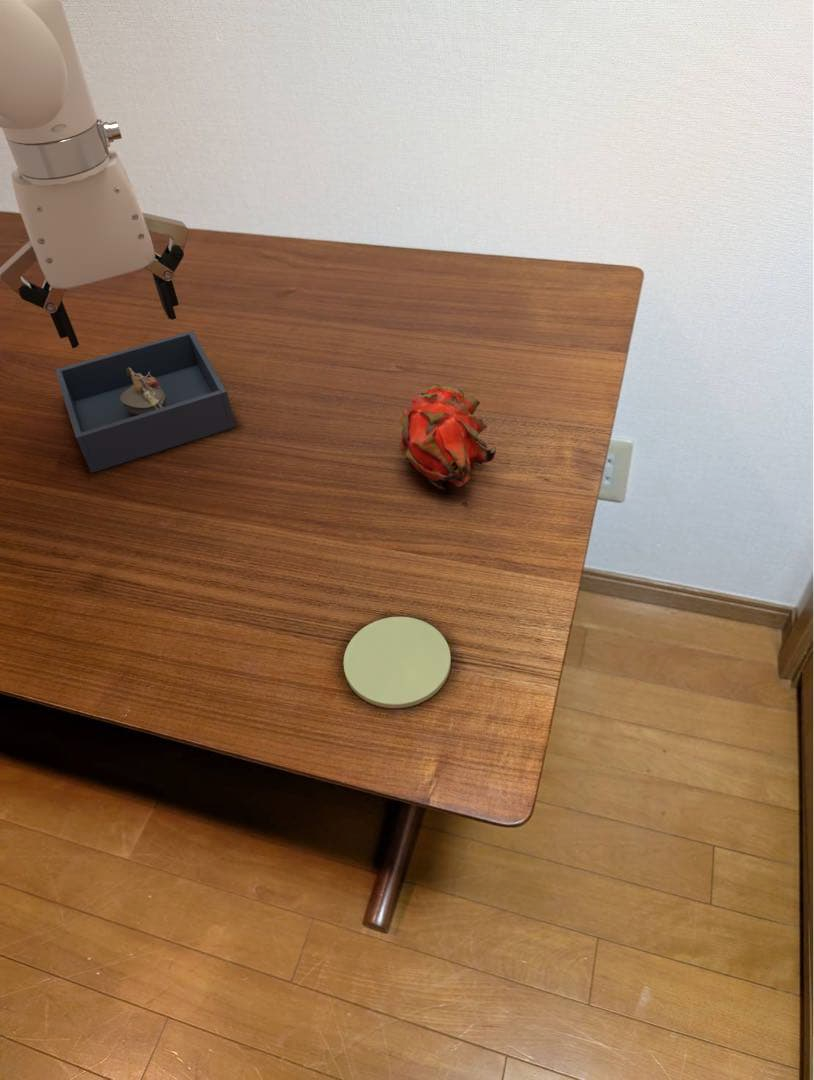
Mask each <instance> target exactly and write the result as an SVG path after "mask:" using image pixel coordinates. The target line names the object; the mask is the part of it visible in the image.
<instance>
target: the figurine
mask: <svg viewBox="0 0 814 1080" xmlns="http://www.w3.org/2000/svg"><path fill="white" fill-rule="evenodd" d="M126 372H127V374H128V375H129V376H130V375H131V378H132V381H133V383H134V385H133V386H132V387H130V388H129V389H127V390H126V391H125V392H123V393H122V395H121V397H120V398H121V401H122V404H123V405H124V406H125V407H127V409H128V410H129V412H130V413H134V414H139V415H140V414H144V413H147V412H150V411H153V410H157V409H160V408H163V406H161V405H162V404H163V403H164V402H165V400H166V396H165V394H164V391H163V390H162V389H161V387H158V386H159V383H158V381H157V380H156V379H155V377H149V378H147V379H146V377H147V376H149V375H150V372H149V373H148V375H147V376H145V377H144V376H142V375H141V374H140V373H137V374H136V373H134V372H133V371H132V369H131V368H129V367H128V368H127V370H126ZM135 374H136V377H135ZM128 375H127V376H128ZM150 376H151V375H150ZM141 378H142V379H141ZM142 380H144V381H142ZM141 382H144V383H141Z"/></svg>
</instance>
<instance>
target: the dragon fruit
mask: <svg viewBox="0 0 814 1080" xmlns="http://www.w3.org/2000/svg"><path fill="white" fill-rule="evenodd" d="M411 403H412V406H411V407H410V408H409V409H408V410H404V411H403V413H402V416H401V418H400V419H399V423H400V425H401V426H402V427H401V428H402V430H401V442H400V444H399V451H400V453H401V455H403V456H404V457H406V459H407V460H408V462H410V463H411V465H412V466H413V467H414V468H415V469H416V470H417V471H418V472H420V473H421V475H423V476H424V477H425V478H426V480H427V481H428V482H429V483H430V484H432V485H433V486H435V487H437V488H438V489H439V490H443V491H446V488H445V486H444V483H445V482H446V481H448V482H450V483H451V484H452V485H453V486H455V487H457V488H461V487H462V486H464V484H466V483H467V482H469V481H470V480H471V479H472V477H471V475H470V472H471V463H475V464H478V465H483V464H485V463H489V462H491V461H492V460H494V458H495V455H496V453H497V447H491V448H490V449H487V448H488V446H487V443H486V442H485V441H484V440H482V439H481V438H479V435H480V434H481V433H482V432H483V431H484V430H485V429H487V428H488V424H487V423H486V422H485V421H484V420H483V419H481V418H477V417H476V416H474V415H473V414H474V413H475V412H476V411H477V408H478V407H479V405H480V404H481V402H480V401H479V399H478V398H477V397H475V396H473V395H468V396H465V394H464V391H462V390H459V389H458V388H456V387H455V386H453V385H451V384H446V385H443V386H441V385H439V384H438V383H436V384H433V385H432V386H431V387H429V388H428V391H427V392H425V393H423V392H422V393H420V392H419V393H418V394H417V395H416V396H414V397H413V398H412V400H411Z"/></svg>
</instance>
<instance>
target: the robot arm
mask: <svg viewBox="0 0 814 1080" xmlns="http://www.w3.org/2000/svg"><path fill="white" fill-rule="evenodd" d="M69 25H70V24H69V23H68V19H67V16H66V13H65V10H64V6H63V3H62V0H0V128H1V129H2V132H3V134H4V137H5V140H6V143H7V144H8V145H7V146H8V147H9V150H10V152H11V154H12V155H11V156H12V158H13V160H14V163H15V165H16V168H15V169H14V170H13V171H12V172H11V174H10V176H11V182H12V187H13V191H14V195H15V200H16V203H17V206H18V210H19V214H20V216H21V219H22V221H23V225H24V228H25V231H26V233H27V236H28V241H27V242H26V243H25V244H24V245H23V246H22V247H21V248H20V249H19V250H18V251H16V252H15V253H14V254H13V255H12V256H11V257H10V258H9V259H8V260H7V261H5V262H4V264H2V265H1V266H0V281H1V282H2V283H3V284H5V285H6V286H7V287H8V288H9V289H10V290H11V291H13V292H14V293H16V294H17V295H18V296H20V298H21V299H22V300H23V301H25V302H27V303H29V304H32V305H34V306H37V307H39V308H41V309H43V310H44V311H45V312H46V313H47V314H49V315H50V317H51V319H52V322H53V324H54V327H55V329H56V332H57V334H58V336H59V338H60V339H64V338H67V339H68V341H69V344H70V346H71V349H76V348H78V347H79V346H80V342H79V340H78V338H77V334H76V332H75V329H74V327H73V324H72V321H71V320H70V317H69V314H68V312H67V309H66V307H65V305H64V302H63V298H64V295H65V293H66V292H67V290H70V289H75V288H79V287H83V286H86V285H90V284H94V283H99V282H101V281H106V280H109V279H112V278H116V277H120V276H124V275H128V274H131V273H134V272H137V271H140V270H143V269H145V270H147V271H148V272H150V273H151V274H152V277H153V281H154V285H155V288H156V291H157V294H158V297H159V300H160V303H161V306H162V309H163V310H164V314H165V315H166V317H167V318H168V320H172V321H173V320H176V319H177V315H176V312H175V308H174V307H177V306H179V304H180V303H179V300H178V297H177V292H176V290H175V287H174V283H173V279H174V278H175V272H176V270H177V268H178V267H179V265H180V263H181V261H182V260H183V258H184V256H185V251H184V250H185V248H186V244H187V239H188V235H189V228H188V226H187V225H186V224H185V223H184V221H181V220H177V219H173V218H169V217H164V216H159V215H156V214H151V213H146V212H143V210H142V208H141V206H140V202H139V200H138V197H137V194H136V193H135V190H134V188H133V185H132V183H131V180H130V179H129V176H128V174H127V171H126V169H125V166H124V165H123V163H122V161H121V158H120V157H119V155H118V153H117V152H116V150H114V149H113V148H111V143H114V142H115V140H120V139H122V134H121V130H120V127H119V124H118V123H117V121H111V122H107V121H102V118H100V119H99V118H98V116H97V111H96V109H95V105H94V103H93V100H92V96H91V93H90V90H89V86H88V84H87V80H86V77H85V73H84V70H83V68H82V64H81V61H80V58H79V54H78V51H77V48H76V44H75V41H74V38H73V35H72V31H71V28H70V26H69ZM150 233H154V234H160V235H163V236H168V237H169V241H168V243H167V245H166V247H165V248H164V250H163V252H162V254H161V255H160V254H158V253H157V252H156V251H155V248H154V244H153V240H152V236H151V234H150ZM36 262H37V263H38V265H39V268H40V270H41V272H42V274H43V276H44V281H43V284H42V285H41V286H39V285H36V283H35V284H34V283H32V282H30V281H28V280H26V279H25V278H24V277H23V276H22V275H23V274H24V273H25V272H26V271H27V270H29V269H30V268H31V267H32V266H33V265H34V264H35V263H36Z"/></svg>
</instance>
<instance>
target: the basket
mask: <svg viewBox="0 0 814 1080" xmlns="http://www.w3.org/2000/svg"><path fill="white" fill-rule="evenodd" d="M128 367H129V368H131V369H132V371H133V372H134V373H136V374H137V373H140V374H141V375H142V376H144V377H145V376H147V375H148V373H149V372H150V375H151V376H150V375H149V376H147V377H146V379H147V378H149V377H155V379H156V380H157V381H158V383H159V386H158V387H161V389H162V390H163V391H164V394H165V396H166V400H165V402H164V403H163V404H162V405H161V406H163V408H160V409H157V410H153V411H150V412H147V413H144V414H140V415H139V414H134V413H130V412H129V410H128V409H127V407H125V406H124V405H123V404H122V401H121V398H120V397H121V395H122V393H123V392H125V391H126V390H127V389H129V388H130V387H132V386H133V385H134V383H133V381H132V378H131V375H130V376H129V375H128V374H127V372H126V370H127V368H128ZM214 368H215V367H213V364H212V363H211V361H210V359H209V358H208V356H207V354H206V352H205V350H204V348H203V346H202V345H201V343H200V342H199V339H198V337H197V335H196V334H195V332H194V331H193V330H190V331H186V332H183V333H179V334H175V335H172V336H169V337H165V338H162V339H158V340H155V341H151V342H148V343H144V344H141V345H136V346H133V347H130V348H127V349H123V350H120V351H115V352H113V353H108V354H105V355H102V356H99V357H94V358H91V359H88V360H85V361H81V362H77V363H73V364H70V365H67V366H64V367H61V368H56V369H54V372H55V375H56V378H57V381H58V385H59V387H60V391H61V394H62V397H63V401H64V404H65V408H66V411H67V414H68V417H69V421H70V424H71V426H72V427H71V428H72V430H73V433H74V436H75V439H76V442H77V444H78V446H79V448H80V450H81V453H82V455H83V458H84V460H85V462H86V464H87V467H88V469H89V472H90V473H91V474H94V473H96V472H99V471H103V470H106V469H109V468H113V467H116V466H119V465H122V464H124V463H128V462H132V461H135V460H138V459H141V458H144V457H147V456H151V455H152V454H153V455H154V454H156V453H159V452H163V451H165V450H169V449H171V448H175V447H178V446H181V445H184V444H188V443H190V442H193V441H197V440H200V439H203V438H206V437H209V436H212V435H215V434H219V433H222V432H225V431H229V430H231V429H233V428H236V423H235V419H234V416H233V412H232V408H231V403H230V399H229V395H228V392H227V390H226V388H225V386H224V385H223V383H222V381H221V379H220V377H219V376H218V373H217V372H216V370H215V369H214ZM136 374H135V377H136ZM127 375H128V376H127ZM141 379H142V378H141ZM142 381H144V380H142ZM141 383H144V382H141Z"/></svg>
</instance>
